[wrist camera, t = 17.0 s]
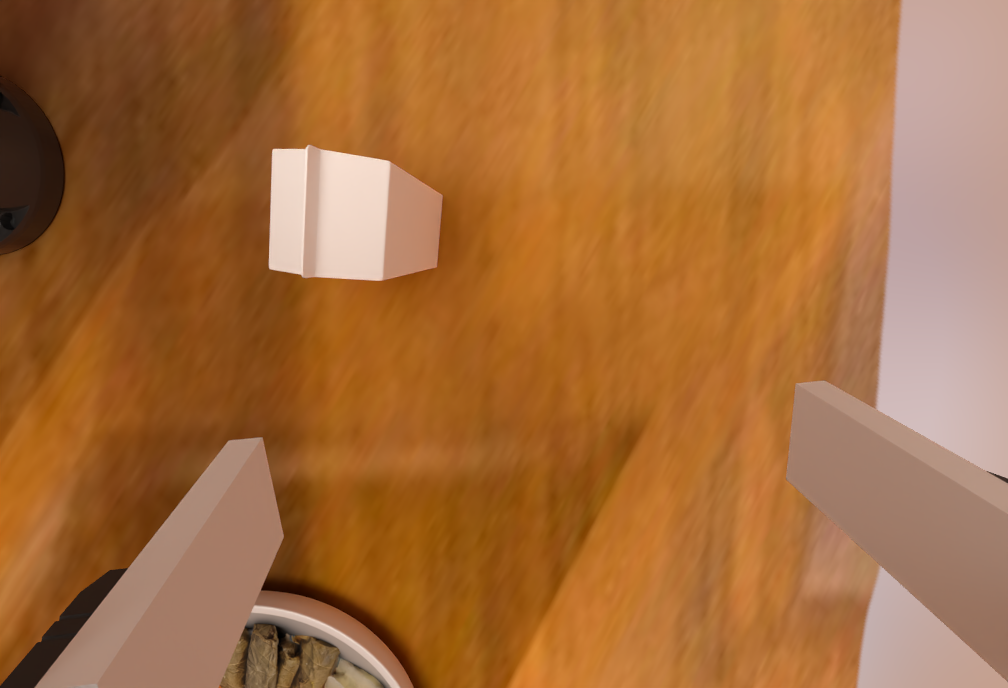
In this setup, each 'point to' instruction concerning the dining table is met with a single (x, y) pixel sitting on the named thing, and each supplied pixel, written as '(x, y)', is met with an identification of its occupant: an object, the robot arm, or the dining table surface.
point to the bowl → (309, 649)
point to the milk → (350, 217)
